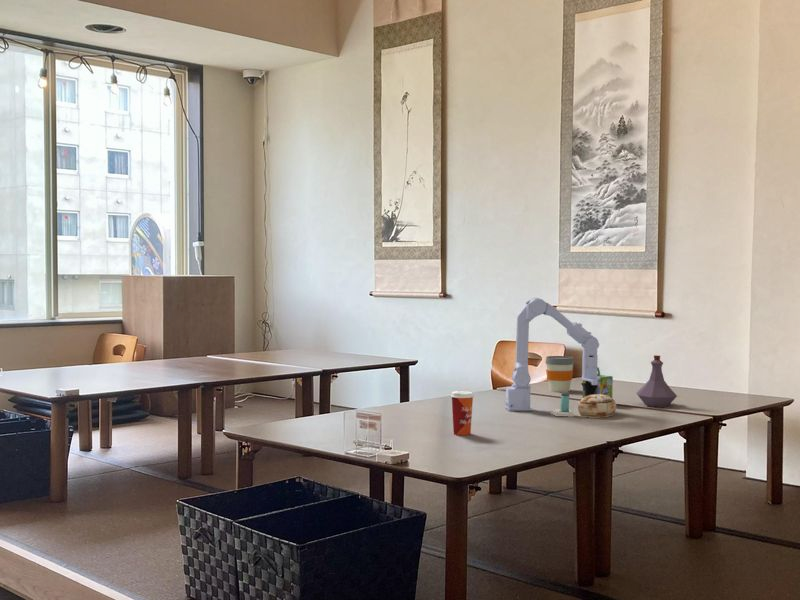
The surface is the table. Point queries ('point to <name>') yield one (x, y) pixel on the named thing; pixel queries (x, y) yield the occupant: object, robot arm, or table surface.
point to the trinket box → (597, 406)
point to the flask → (656, 387)
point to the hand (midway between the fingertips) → (589, 401)
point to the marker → (565, 402)
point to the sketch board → (561, 413)
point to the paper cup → (462, 412)
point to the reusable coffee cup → (559, 372)
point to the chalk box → (603, 385)
